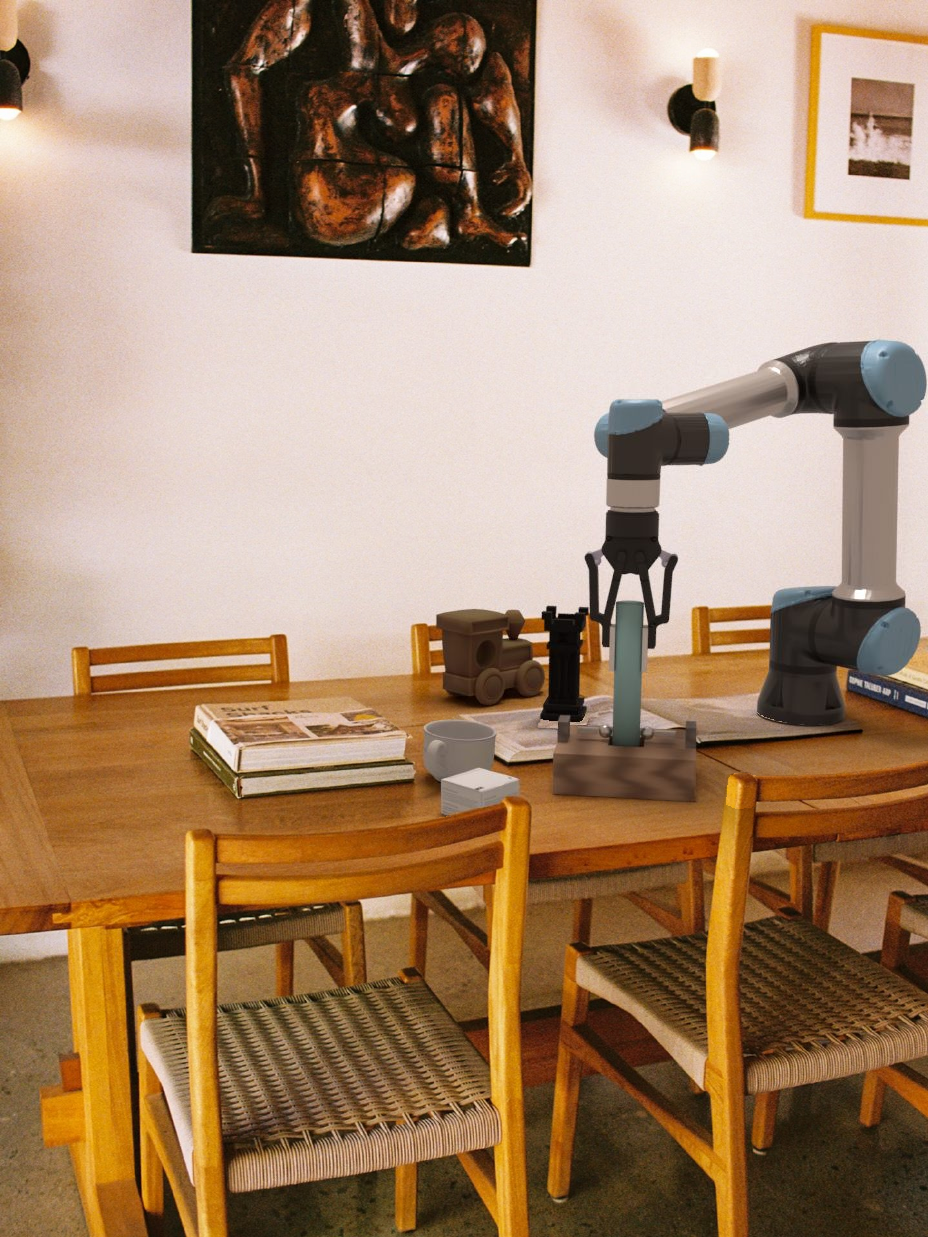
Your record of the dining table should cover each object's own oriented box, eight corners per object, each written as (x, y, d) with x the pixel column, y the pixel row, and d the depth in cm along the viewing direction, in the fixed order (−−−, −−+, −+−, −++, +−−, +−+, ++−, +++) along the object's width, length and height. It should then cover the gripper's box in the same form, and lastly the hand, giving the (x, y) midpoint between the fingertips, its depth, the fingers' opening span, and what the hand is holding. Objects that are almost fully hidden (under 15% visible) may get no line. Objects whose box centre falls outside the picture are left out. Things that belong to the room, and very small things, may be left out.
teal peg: (639, 747, 186) (644, 600, 182) (639, 754, 182) (643, 605, 178) (612, 745, 186) (616, 600, 182) (611, 753, 182) (615, 604, 179)
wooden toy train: (472, 711, 225) (473, 620, 222) (432, 699, 234) (431, 612, 231) (551, 694, 238) (552, 608, 235) (509, 684, 247) (510, 600, 244)
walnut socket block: (693, 768, 191) (695, 711, 189) (694, 801, 176) (697, 739, 174) (562, 761, 194) (563, 705, 193) (552, 793, 179) (553, 732, 177)
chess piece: (584, 730, 212) (586, 614, 209) (537, 728, 214) (538, 612, 210) (588, 719, 220) (591, 606, 217) (543, 716, 222) (545, 605, 218)
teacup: (454, 764, 193) (455, 714, 192) (510, 778, 186) (511, 726, 185) (393, 786, 182) (393, 732, 181) (450, 801, 176) (450, 746, 174)
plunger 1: (612, 736, 185) (612, 723, 185) (611, 740, 183) (612, 726, 183) (578, 734, 186) (578, 721, 186) (577, 738, 184) (577, 725, 184)
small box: (478, 801, 176) (479, 766, 175) (520, 814, 171) (521, 778, 170) (439, 814, 171) (439, 778, 170) (481, 828, 165) (481, 791, 164)
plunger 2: (675, 739, 184) (675, 726, 183) (675, 743, 182) (675, 729, 181) (640, 737, 184) (640, 724, 184) (639, 741, 183) (640, 728, 182)
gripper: (693, 507, 180) (687, 666, 184) (574, 505, 183) (571, 662, 187) (693, 512, 173) (687, 678, 177) (570, 510, 176) (567, 673, 180)
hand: (628, 669), depth 182 cm, fingers closed on teal peg, 4 cm apart
